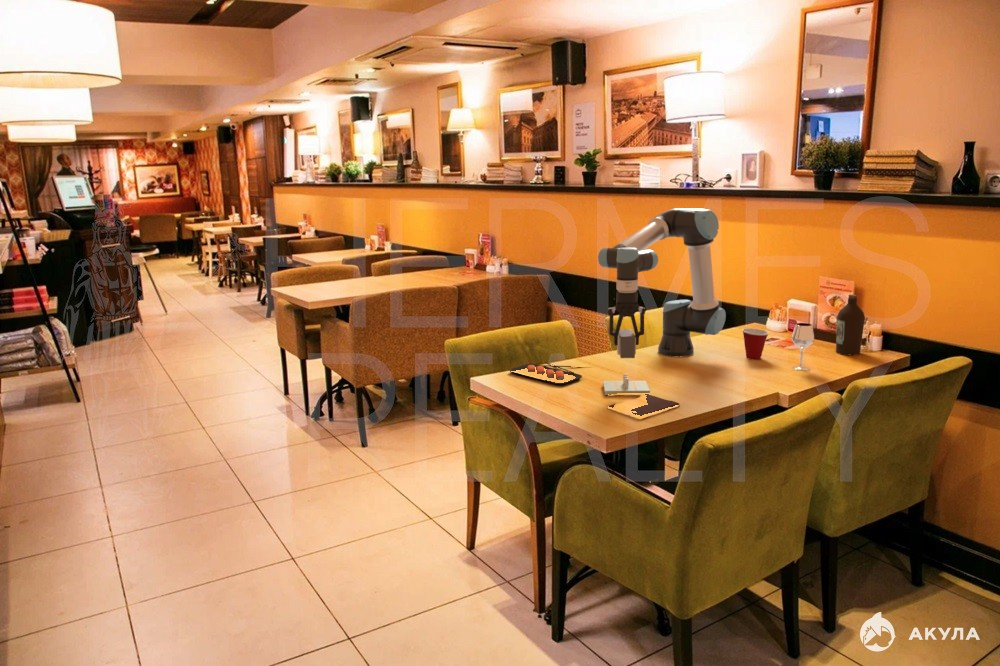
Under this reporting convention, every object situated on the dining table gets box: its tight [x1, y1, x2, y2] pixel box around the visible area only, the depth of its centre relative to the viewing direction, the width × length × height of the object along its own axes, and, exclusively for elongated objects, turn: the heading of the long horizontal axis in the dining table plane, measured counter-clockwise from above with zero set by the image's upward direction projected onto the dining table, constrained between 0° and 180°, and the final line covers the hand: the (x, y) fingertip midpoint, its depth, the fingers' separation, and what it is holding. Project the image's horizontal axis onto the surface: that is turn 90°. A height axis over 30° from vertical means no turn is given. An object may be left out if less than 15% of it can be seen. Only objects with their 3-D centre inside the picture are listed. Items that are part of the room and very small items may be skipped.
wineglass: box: [791, 322, 815, 371], centre depth 284 cm, size 8×8×18 cm
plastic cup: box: [741, 327, 770, 361], centre depth 301 cm, size 11×11×12 cm
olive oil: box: [835, 294, 866, 356], centre depth 303 cm, size 11×11×25 cm
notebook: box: [608, 394, 680, 416], centre depth 246 cm, size 15×20×2 cm
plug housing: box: [618, 329, 636, 359], centre depth 261 cm, size 11×5×8 cm, turn 176°
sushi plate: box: [509, 362, 583, 385], centre depth 291 cm, size 29×30×4 cm
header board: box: [602, 373, 651, 396], centre depth 264 cm, size 12×16×6 cm
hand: (626, 353), depth 261 cm, fingers closed on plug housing, 5 cm apart
